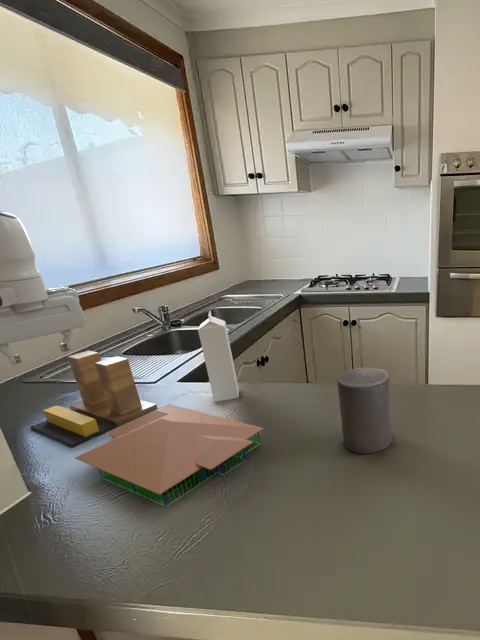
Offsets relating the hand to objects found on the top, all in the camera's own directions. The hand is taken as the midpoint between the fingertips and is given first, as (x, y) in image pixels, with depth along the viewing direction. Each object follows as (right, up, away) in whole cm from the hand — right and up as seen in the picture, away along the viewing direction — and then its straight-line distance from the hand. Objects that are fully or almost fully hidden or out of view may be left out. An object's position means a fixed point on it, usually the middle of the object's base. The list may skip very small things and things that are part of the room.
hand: (42, 356), depth 92 cm
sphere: (-7, -6, +36) cm, 37 cm away
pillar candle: (+71, -17, -9) cm, 74 cm away
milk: (+34, -10, +18) cm, 40 cm away
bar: (+3, -16, +6) cm, 17 cm away
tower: (+7, -13, +14) cm, 20 cm away
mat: (+3, -16, +6) cm, 17 cm away
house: (+33, -20, -9) cm, 40 cm away
